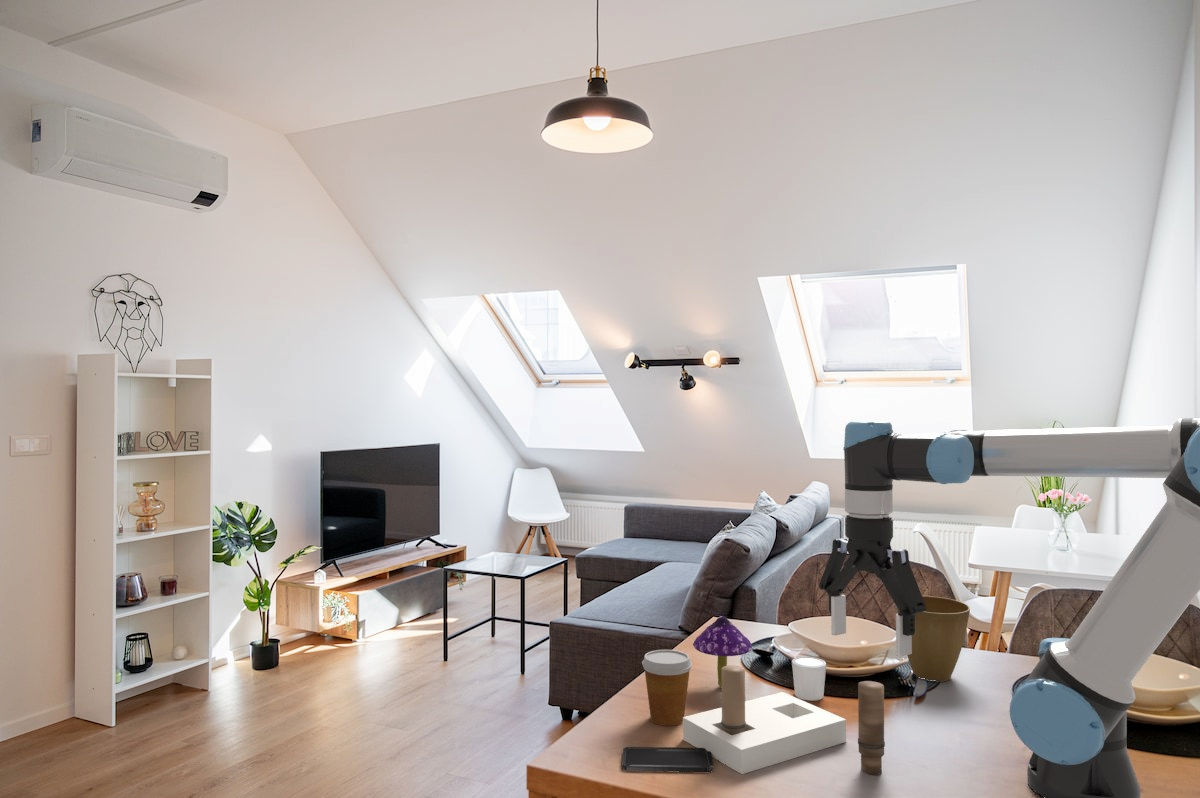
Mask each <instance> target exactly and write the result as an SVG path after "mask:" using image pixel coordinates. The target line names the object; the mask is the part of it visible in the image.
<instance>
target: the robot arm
mask: <svg viewBox="0 0 1200 798" xmlns="http://www.w3.org/2000/svg"><path fill="white" fill-rule="evenodd" d="M843 441H844V444H843V451H844V452H843V453H844V454H843V455H844V457H843V459H844V512H845V513H847V515H845V517H844V535H845V537H842V538H835V539H833V540H832V544H831V545H832V547H831V553H830V556H829V558H828V560H827V563H826V566H825V569H824V571H823V572H822V573H823V574H822V576H821V579H820V581H819V584H818V587H819V589H820V590H824V591H825V592H826V594H827V595H828V612H829V614H830V617H831V618H830V620H831V626H830V628H831V629H830V631H831V635H832V636H838V635H839V636H841V635H844V634H846V633H847V603H846V602H847V599H846V598H847V597H846V596H847V594H846V595H845V594H844V593H845V591H844V590H845V589H846V588H847V586H848V585H849V584H850V582H851V581H852V579H853V578H854V577H855V575H857V573H858V572H864V571H865V572H867V573H869V574H872V575H873V574H875V576H876V578H878V579H880V581H881V582H882V583H883V586H884V587H885V589H886V590H887V592H888V595H889V596H890V598H891V599H892V601H893V602H894V604H895V606H896V609H897V608H898V609H899V611H900V613H899V614H898V613H895V655H896V656H897V657H899V658H901V657H905V656H907V655H909V654H912V635H914V633H915V614H916V613H920V612H925V611H926V605H925V602H924V600H923V597H922V596H923V595H922V592H921V591H920V588H919V585H918V582H917V579H916V577H915V575H914V572H913V570H912V567H911V564H910V557H909V551H908V550H907V548H906V549H905V548H903V549H892V546H891V542H892V540H893V537H894V519H893V518H892V516H890V515H891V514H893V508H894V506H893V502H894V501H893V497H894V496H893V489H894V487H893V486H894V485H893V483H894V482H893V481H909V482H911V481H912V482H922V483H936V484H937V483H938V484H941V485H948V484H964V483H967V482H968V481H969V480H970V477H1041V478H1042V477H1048V478H1049V477H1050V478H1051V477H1055V478H1057V477H1059V478H1063V477H1065V478H1124V479H1125V478H1127V479H1128V478H1129V479H1130V478H1131V479H1132V478H1133V479H1134V478H1135V479H1136V478H1138V479H1140V478H1141V479H1152V478H1153V479H1165V480H1164V482H1162V486H1163V490H1164V492H1165V493H1164V494H1165V497H1166V502H1165V503H1164V505H1163V506H1162V507H1161V508H1160V510H1159V511H1158V513H1157V514H1156V516H1155V517H1154V519H1153V520H1152V521H1151V523H1150V525H1148V527H1147V529H1146V530H1145V531H1144V533H1143V535H1141V537H1140V538H1139V540H1138V542H1137V543H1136V544H1135V546H1134V547H1133V548H1132V550H1131V551H1130V553H1129V554H1128V556H1127V557H1126V559H1125V560H1124V561H1123V562H1122V564H1121V565H1120V567H1119V568H1118V570H1117V572H1116V573H1115V575H1114V576H1113V577H1112V579H1111V580H1110V581H1109V583H1108V584H1107V586H1106V587H1105V588H1104V590H1103V592H1102V593H1101V594H1100V596H1099V597H1098V599H1097V600H1096V601H1095V603H1094V604H1093V606H1092V607H1091V608H1090V610H1089V612H1088V613H1087V614H1086V615H1085V617H1084V619H1083V620H1082V621H1081V623H1080V624H1079V625H1078V627H1077V628H1076V630H1075V631H1074V632H1073V634H1072V636H1071V637H1070V638H1065V637H1064V638H1063V637H1048V638H1044V639H1041V641H1040V644H1039V650H1038V651H1037V655H1038V656H1039V657H1038V658H1039V661H1038V663H1037V664H1036V665H1035V667H1034V668H1033V670H1032V671H1031V672H1030V674H1029V675H1028V677H1027V678H1026V679H1025V681H1024V682H1022V684H1020V685H1018V687H1016V689H1015V690H1014V691H1013V694H1012V696H1011V701H1010V703H1009V717H1010V721H1011V724H1012V727H1013V730H1014V732H1015V733H1016V735H1017V737H1018V738H1019V739H1020V741H1021V742H1022V743H1023V744H1024V746H1026V747H1027V748H1028V749H1029V750H1030V751H1031V752H1032V753H1031V756H1030V759H1029V761H1028V764H1027V784H1028V787H1030V789H1033V790H1032V791H1033V792H1034V793H1036V794H1037V793H1038V794H1037V795H1039V794H1040V795H1041V796H1040V795H1039V796H1040V797H1042V796H1043V797H1045V798H1141V793H1142V792H1141V785H1140V784H1139V781H1138V777H1137V775H1136V772H1135V768H1134V766H1133V763H1132V761H1131V757H1130V756H1129V753H1128V748H1127V747H1128V746H1127V732H1128V731H1127V730H1128V729H1127V728H1128V727H1127V725H1128V724H1127V723H1128V722H1127V721H1128V720H1127V718H1128V717H1127V712H1128V710H1129V708H1130V707H1131V706H1132V704H1133V703H1135V700H1136V699H1137V698H1136V693H1135V690H1134V686H1133V682H1132V681H1133V680H1135V677H1137V675H1138V673H1139V672H1140V671H1141V670H1142V668H1143V666H1145V664H1146V663H1147V662H1148V660H1149V659H1150V657H1151V656H1152V655H1153V654H1154V652H1155V651H1156V650H1157V648H1158V647H1159V646H1160V644H1161V643H1162V642H1163V640H1164V639H1165V638H1166V636H1167V635H1168V634H1169V632H1170V630H1171V629H1172V628H1173V627H1174V625H1176V623H1177V622H1178V620H1179V619H1180V617H1181V616H1182V614H1183V613H1184V612H1185V611H1186V609H1187V608H1188V607H1189V606H1190V604H1191V603H1192V601H1193V600H1194V599H1195V598H1196V596H1197V595H1198V593H1199V592H1200V417H1193V418H1192V417H1191V418H1189V417H1188V418H1178V419H1177V420H1176V421H1175V422H1173V424H1171V425H1154V426H1153V425H1152V426H1151V425H1150V426H1146V425H1145V426H1143V425H1142V426H1115V427H1114V426H1113V427H1112V426H1109V427H1108V426H1107V427H1071V428H1036V429H1035V428H1032V429H1031V428H1030V429H1027V428H1026V429H994V430H993V429H992V430H991V429H990V430H967V429H957V430H950V431H949V432H945V431H944V432H938V433H937V432H936V433H918V434H917V433H907V434H906V433H897V432H894V430H893V425H892V423H891V422H890V421H886V420H885V421H884V420H883V421H882V420H853V421H850V422H848V423H846V425H845V429H844V440H843ZM847 554H848V555H849V557H848V558H847V559H846V557H847ZM845 560H846V561H845ZM916 604H917V605H916ZM905 605H906V606H905ZM1043 797H1042V798H1043Z"/></svg>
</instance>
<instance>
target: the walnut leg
mask: <svg viewBox="0 0 1200 798" xmlns="http://www.w3.org/2000/svg"><path fill="white" fill-rule="evenodd" d="M857 686H858V687H857V688H858V689H857V691H858V693H857V694H858V696H857V700H858V701H857V703H858V704H857V705H858V707H857V709H858V713H857V714H858V715H857V716H858V719H857V721H858V737H857V744H858V753H859V754H860V757H861V758H860V769H861V772H862V773H864V774H867V775H872V776H877V775H878V776H879V775H881V774H882V771H883V770H882V765H883V763H882V762H883V761H882V757H884V755H885V747H886V742H885V686H884V684H883V683H881V682H877V681H872V680H864V681H860V682H859V681H858V684H857Z"/></svg>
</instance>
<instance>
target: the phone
mask: <svg viewBox="0 0 1200 798" xmlns="http://www.w3.org/2000/svg"><path fill="white" fill-rule="evenodd" d="M621 760H622V761H621V762H622V763H621V766H622V767H621V768H622V770H623V771H625V770H626V771H625V772H646V771H652V773H656V771H663V772H662V773H668V772H667V771H679V772H678V773H693V772H710V773H712V772H713V771H714V762H713V757H712V755H711V752H710V751H707V750H706V749H705V748H696V747H678V746H677V747H673V746H670V747H668V746H667V747H666V746H625V747H624V748H623V749H622V759H621ZM711 771H712V772H711Z"/></svg>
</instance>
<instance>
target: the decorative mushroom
mask: <svg viewBox="0 0 1200 798" xmlns="http://www.w3.org/2000/svg"><path fill="white" fill-rule="evenodd" d="M692 645H693V647H694V649H695V650H696V651H698V652H699V653H703V654H706V655H710V656H714V657H715V656H716V657H717V670H716V671H717V684H718V686H719V687H720V688H722V667H724V666H728V657H734V656H742V655H745V654H747V653H749V652H751V651H752V648H753V643H752V642H751V641H750V640H749V639H748V637H747V636H745V635H744V634H743V633H742V632H741V630H740V629H739V628H738V627H737V626H736V625H734V624H733V623H732V622H731V621H730V619H728V618H727V616H723V615H722V616H721V615H720V616H719V617H717V619H716V620H715V621H713V623H711V624H710V625H708V626H707V627H706V628H704V630H703V631H702V632H700V634H699V635H698V636H697V637H696V638H695V640H694V642H693V643H692Z"/></svg>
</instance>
